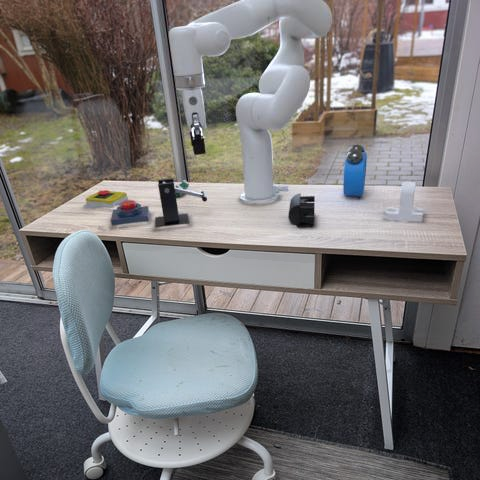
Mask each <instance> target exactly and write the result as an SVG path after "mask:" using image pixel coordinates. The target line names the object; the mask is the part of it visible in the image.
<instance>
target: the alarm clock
mask: <svg viewBox="0 0 480 480" xmlns="http://www.w3.org/2000/svg"><path fill="white" fill-rule="evenodd" d="M365 150H366V149H365V147H364V146H363V145H362V144H360V143H359V144H358V143H356V144H352V145H351V146H350V147H349V148H348V152H346V154H345V159H344V170H343V182H342V183H343V185H342V186H343V187H342V189H343V190H342V191H343V195H344V196H345V197H347V196H348V197H358V199H359V200H361V197H363V195H364V192H365V185H366V174H367V162H368V161H367V159H368V155H367V152H366V151H365Z"/></svg>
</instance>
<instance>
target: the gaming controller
mask: <svg viewBox="0 0 480 480" xmlns="http://www.w3.org/2000/svg"><path fill="white" fill-rule="evenodd" d="M189 186H190V184H189V181H187V180H186V179H183V181H182V182H180V183H179V184H177V185H175V187H176V188H180V189H184V190H188V189H187V188H188V187H189ZM175 193H176V197H181V196H182V195H183V194H182V193H178V192H175Z"/></svg>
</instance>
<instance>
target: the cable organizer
mask: <svg viewBox="0 0 480 480" xmlns="http://www.w3.org/2000/svg"><path fill="white" fill-rule="evenodd" d="M416 185H417V182H416V181H402V183H401V188H400V189H401V190H400V197H399V205H398V206H387V207H386V211H385V216H384V220H386V221H399V222H401V221H402V222H414V223H415V222H418V223H422V222H423V219H424V211H425V209H424V208H423V207H414V200H415V194H416Z"/></svg>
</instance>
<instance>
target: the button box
mask: <svg viewBox="0 0 480 480" xmlns="http://www.w3.org/2000/svg"><path fill="white" fill-rule="evenodd" d="M135 203H136V208H134V209H131V210H122V208H121V205H119V206H116V209H112V213H111V217H110V223H111V224H110V225H111V226H119V225H129V224H134V223H135V224H137V223H143V222H149V220H150V219H149V218H150V209H149V208H150V207H149V205H143V206H142V204H140V203H138V202H135Z"/></svg>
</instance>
